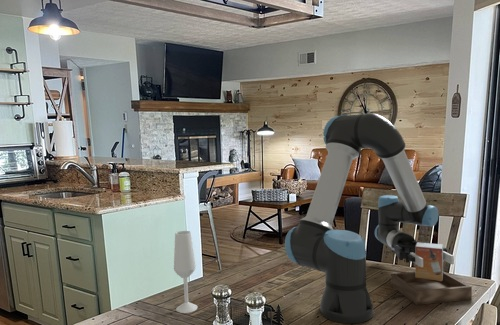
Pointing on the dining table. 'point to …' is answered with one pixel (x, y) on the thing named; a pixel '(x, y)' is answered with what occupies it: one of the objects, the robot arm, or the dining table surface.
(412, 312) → the dining table surface
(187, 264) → the champagne flute
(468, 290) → the wooden tray
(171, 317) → the dining table surface
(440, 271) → the small box
